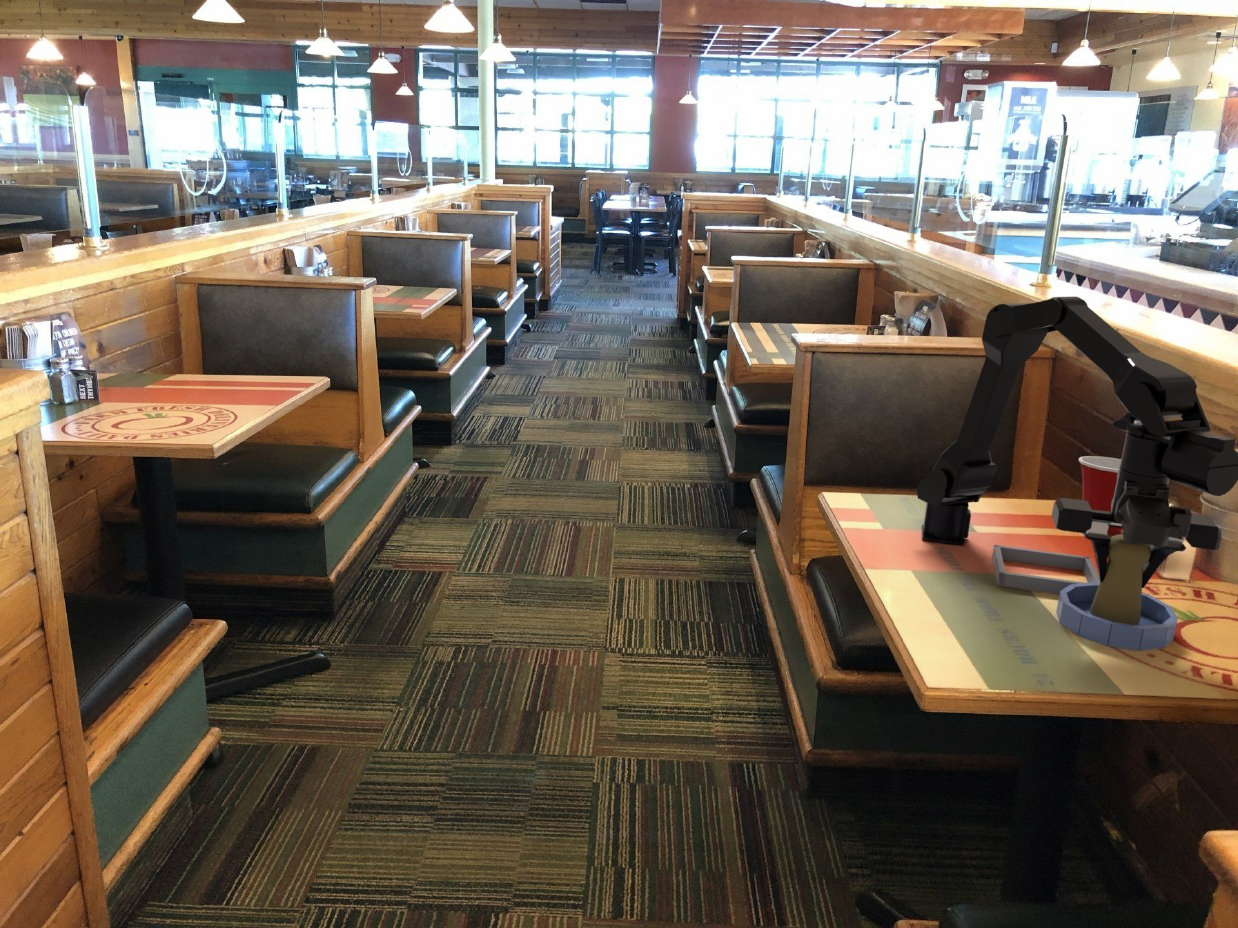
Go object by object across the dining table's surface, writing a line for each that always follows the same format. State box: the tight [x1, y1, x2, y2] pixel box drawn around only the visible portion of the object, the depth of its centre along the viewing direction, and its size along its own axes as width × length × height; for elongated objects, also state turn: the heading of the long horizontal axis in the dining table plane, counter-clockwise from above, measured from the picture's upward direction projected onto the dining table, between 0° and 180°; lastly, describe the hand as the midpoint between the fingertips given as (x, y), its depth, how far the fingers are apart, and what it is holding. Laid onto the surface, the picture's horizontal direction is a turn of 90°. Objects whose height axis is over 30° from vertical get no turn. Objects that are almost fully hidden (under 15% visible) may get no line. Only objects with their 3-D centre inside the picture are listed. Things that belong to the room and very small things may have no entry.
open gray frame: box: [991, 544, 1100, 595], centre depth 144 cm, size 14×12×2 cm
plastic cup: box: [1078, 455, 1123, 536], centre depth 163 cm, size 11×11×12 cm
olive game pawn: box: [1090, 534, 1151, 625], centre depth 128 cm, size 6×6×11 cm
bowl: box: [1055, 582, 1179, 652], centre depth 129 cm, size 14×14×3 cm
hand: (1120, 584), depth 128 cm, fingers closed on olive game pawn, 4 cm apart
